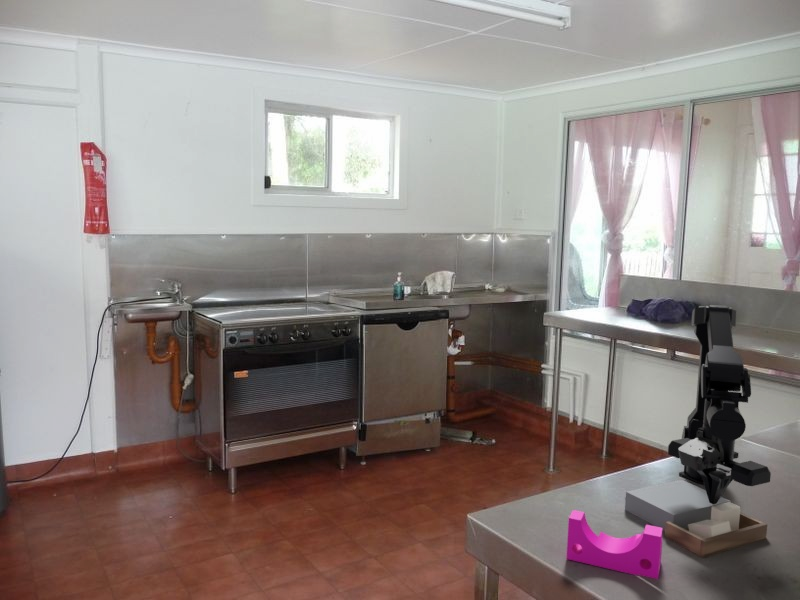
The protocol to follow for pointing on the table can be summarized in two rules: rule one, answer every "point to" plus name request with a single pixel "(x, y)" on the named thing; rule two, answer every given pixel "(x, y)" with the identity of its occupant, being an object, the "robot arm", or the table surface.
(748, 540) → the box
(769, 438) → the table surface
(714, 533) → the tile
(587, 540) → the toy block
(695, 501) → the board
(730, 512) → the tile
